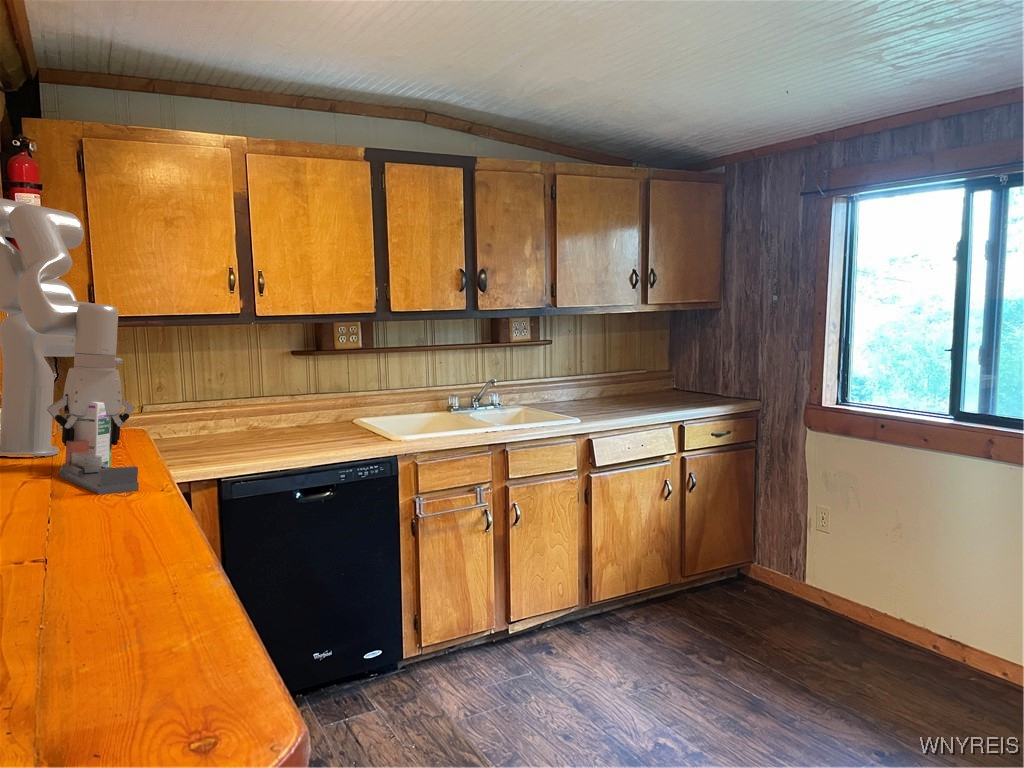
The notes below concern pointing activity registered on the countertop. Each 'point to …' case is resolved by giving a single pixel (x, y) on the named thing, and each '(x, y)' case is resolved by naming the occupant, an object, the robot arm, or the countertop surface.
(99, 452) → the syrup box
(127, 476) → the press bed
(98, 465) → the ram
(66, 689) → the countertop surface
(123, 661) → the countertop surface
